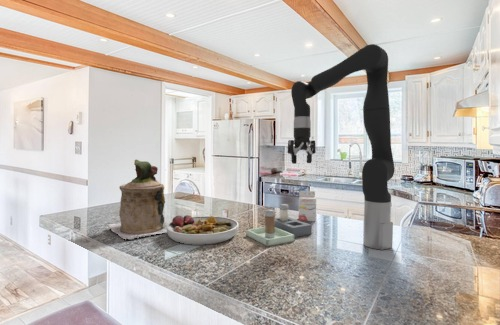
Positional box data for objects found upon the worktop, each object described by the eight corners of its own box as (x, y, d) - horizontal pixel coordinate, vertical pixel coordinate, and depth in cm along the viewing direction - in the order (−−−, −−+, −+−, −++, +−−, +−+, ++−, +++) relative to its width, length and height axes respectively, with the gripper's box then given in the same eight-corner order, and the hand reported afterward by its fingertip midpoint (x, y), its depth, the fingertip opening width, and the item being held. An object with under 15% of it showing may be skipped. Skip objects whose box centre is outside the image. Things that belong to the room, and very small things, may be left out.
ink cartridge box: (299, 220, 151) (299, 192, 150) (298, 218, 156) (298, 190, 155) (316, 221, 150) (316, 192, 149) (315, 219, 155) (315, 191, 154)
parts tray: (294, 241, 118) (294, 234, 118) (267, 246, 112) (267, 240, 112) (271, 231, 132) (271, 225, 132) (246, 235, 126) (246, 229, 125)
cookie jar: (124, 242, 117) (122, 161, 115) (106, 229, 136) (104, 159, 134) (181, 231, 133) (180, 159, 131) (158, 220, 152) (157, 158, 150)
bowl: (246, 229, 137) (246, 212, 137) (224, 251, 108) (224, 229, 108) (187, 224, 145) (187, 208, 144) (151, 243, 116) (151, 224, 116)
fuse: (290, 228, 136) (290, 205, 135) (283, 230, 134) (283, 206, 133) (284, 226, 139) (285, 203, 139) (277, 228, 137) (278, 204, 137)
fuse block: (311, 233, 128) (311, 224, 128) (293, 237, 123) (293, 227, 123) (286, 224, 144) (286, 216, 143) (268, 227, 139) (268, 218, 138)
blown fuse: (276, 237, 121) (276, 210, 121) (268, 239, 119) (268, 212, 119) (271, 234, 125) (271, 209, 124) (263, 236, 123) (263, 210, 122)
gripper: (294, 126, 126) (294, 164, 127) (319, 127, 133) (319, 163, 134) (284, 127, 133) (284, 163, 134) (308, 128, 140) (308, 162, 141)
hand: (301, 163), depth 134 cm, fingers open, 8 cm apart
